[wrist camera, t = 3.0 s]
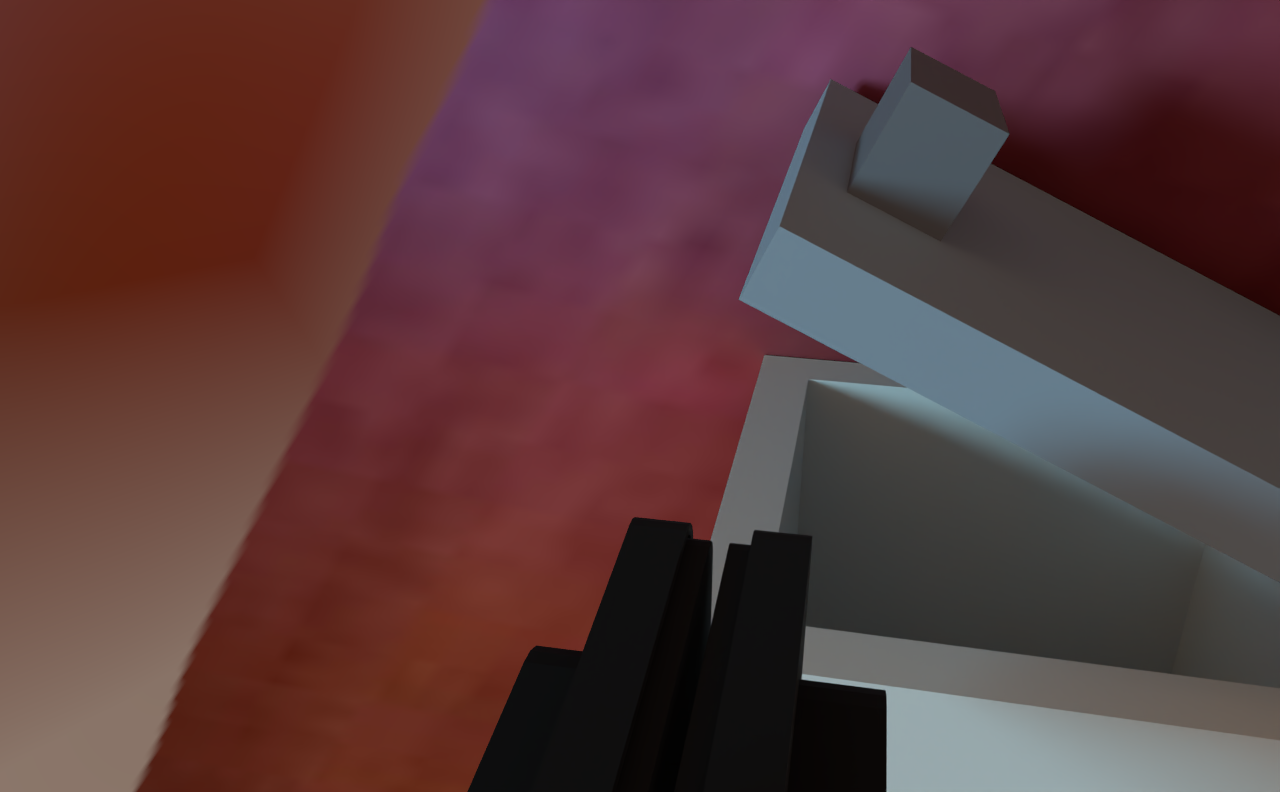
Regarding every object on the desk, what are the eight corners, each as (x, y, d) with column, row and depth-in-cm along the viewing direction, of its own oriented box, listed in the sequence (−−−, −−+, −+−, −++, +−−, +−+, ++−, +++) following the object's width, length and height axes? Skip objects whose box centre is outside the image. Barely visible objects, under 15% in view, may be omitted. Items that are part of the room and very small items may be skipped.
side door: (1427, 287, 20) (1771, 581, 12) (1320, 405, 21) (1565, 741, 13) (875, -4, 20) (852, 96, 12) (801, 133, 21) (734, 306, 13)
